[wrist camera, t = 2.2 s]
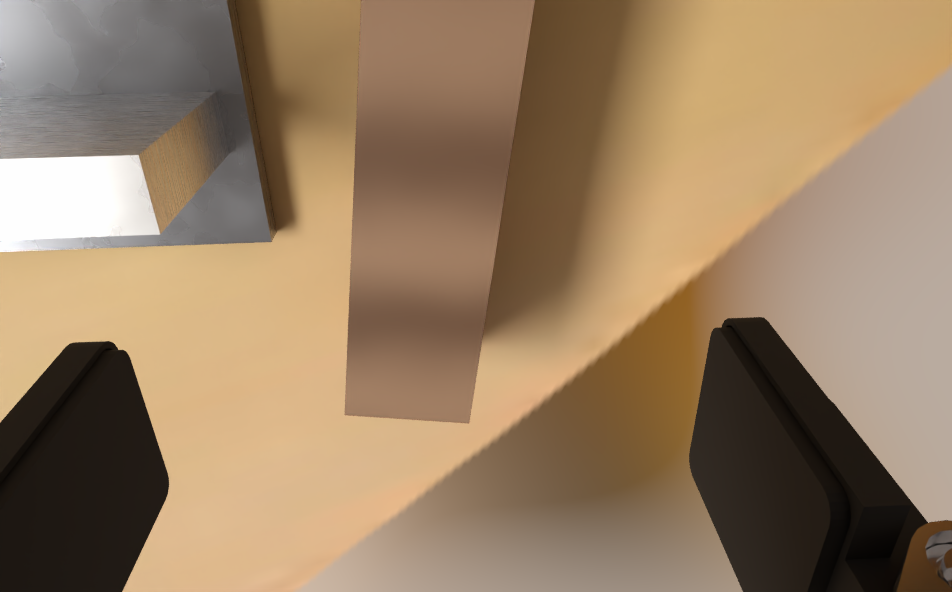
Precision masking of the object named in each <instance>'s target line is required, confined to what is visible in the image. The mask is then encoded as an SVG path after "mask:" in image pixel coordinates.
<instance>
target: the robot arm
mask: <svg viewBox="0 0 952 592" xmlns="http://www.w3.org/2000/svg"><path fill="white" fill-rule="evenodd" d="M689 462H690V469H691V473H692V476H693V478H694V481H695V483H696V485H697V487H698V490H699V492H700V494H701V497H702V499H703V501H704V503H705V506H706V508H707V510H708V513H709V515H710V517H711V519H712V522H713V524H714V526H715V528H716V531H717V533H718V535H719V537H720V540H721V542H722V544H723V547H724V549H725V551H726V554H727V556H728V558H729V561H730V563H731V565H732V567H733V570H734V572H735V574H736V577H737V578H738V581H739V583H740V586H741V588H742V590H743V592H952V521H948V520H944V521H937V522H929V523H928V522H927V521H926V520H925V518H924V517H923V516H922V514H921V513H920V512H919V511H918V509H917V508H916V507H915V506H914V504H913V503H912V502H911V501H910V499H909V498H908V497H907V496H906V494H905V493H904V492H903V490H902V489H901V488H900V487H899V485H898V484H897V483H896V482H895V480H894V479H893V478H892V476H891V475H890V474H889V473H888V472H887V470H886V469H885V468H884V467H883V465H882V464H881V463H880V461H879V460H878V459H877V458H876V456H875V455H874V454H873V452H872V451H871V450H870V449H869V447H868V446H867V445H866V443H865V442H864V441H863V440H862V438H861V437H860V436H859V435H858V434H857V432H856V431H855V430H854V429H853V427H852V426H851V424H850V423H849V422H848V421H847V419H846V418H845V417H844V416H843V414H842V413H841V412H840V411H839V409H838V408H837V407H836V406H835V404H834V403H833V402H831V400H830V399H828V397H827V396H826V395H825V394H824V392H823V391H822V390H821V389H820V387H819V386H818V385H817V383H816V382H815V381H814V379H813V378H812V377H811V376H810V374H809V373H808V372H807V371H806V369H805V368H804V367H803V365H802V364H801V363H800V362H799V360H798V359H797V358H796V357H795V355H794V354H793V353H792V351H791V350H790V349H789V348H788V347H787V345H786V344H785V343H784V341H783V340H782V339H781V338H780V336H779V335H778V334H777V333H776V331H775V330H774V329H773V327H772V326H771V325H770V323H769V322H768V321H767V320H766V319H765V318H762V317H756V318H755V317H754V318H728V319H726V320H725V321H724V323H723V325H722V328H715V329H713V331H712V333H711V337H710V343H709V348H708V353H707V359H706V364H705V370H704V376H703V381H702V386H701V392H700V398H699V404H698V409H697V414H696V420H695V425H694V431H693V436H692V442H691V447H690V454H689ZM168 489H169V478H168V473H167V470H166V467H165V464H164V461H163V458H162V455H161V452H160V449H159V446H158V442H157V439H156V436H155V433H154V430H153V427H152V424H151V421H150V418H149V415H148V412H147V409H146V406H145V403H144V400H143V396H142V393H141V390H140V387H139V384H138V381H137V378H136V375H135V372H134V369H133V366H132V363H131V360H130V357H129V355H128V353H127V352H126V351H124V350H118V348H117V347H116V345H115V344H114V343H112V342H110V341H105V342H78V343H71V344H69V345H68V346H67V347H65V349H64V350H63V351H62V352H61V353H60V354H59V356H58V357H57V358H56V359H55V360H54V361H53V362H52V364H51V365H50V366H49V367H48V368H47V369H46V371H45V372H44V373H43V374H42V375H41V376H40V377H39V379H38V380H37V381H36V382H35V383H34V384H33V386H32V387H31V388H30V389H29V390H28V391H27V392H26V394H25V395H24V396H23V397H22V398H21V399H20V401H19V402H18V403H17V404H16V405H15V406H14V408H13V409H12V410H11V411H10V412H9V413H8V414H7V416H6V417H5V418H4V419H3V420H2V421H1V423H0V592H122V591H123V589H124V587H125V584H126V582H127V580H128V578H129V576H130V574H131V572H132V570H133V567H134V565H135V563H136V561H137V559H138V557H139V555H140V553H141V551H142V548H143V546H144V544H145V542H146V540H147V538H148V536H149V534H150V532H151V529H152V527H153V525H154V523H155V521H156V519H157V517H158V515H159V512H160V510H161V508H162V506H163V504H164V502H165V500H166V497H167V494H168Z"/></svg>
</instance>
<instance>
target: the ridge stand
mask: <svg viewBox="0 0 952 592" xmlns="http://www.w3.org/2000/svg"><path fill="white" fill-rule="evenodd" d="M275 234H276V227H275V221H274V216H273V210H272V204H271V199H270V193H269V188H268V182H267V177H266V171H265V166H264V160H263V154H262V149H261V143H260V138H259V132H258V127H257V121H256V116H255V110H254V104H253V99H252V93H251V88H250V82H249V77H248V71H247V66H246V60H245V54H244V49H243V43H242V38H241V32H240V27H239V21H238V16H237V10H236V4H235V0H0V252H11V251H38V250H65V249H92V248H119V247H146V246H174V245H201V244H228V243H255V242H272V240H273V238H274V236H275Z"/></svg>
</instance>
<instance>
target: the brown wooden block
mask: <svg viewBox="0 0 952 592" xmlns="http://www.w3.org/2000/svg"><path fill="white" fill-rule="evenodd" d="M534 3H535V0H361V19H360V44H359V69H358V94H357V119H356V144H355V169H354V195H353V220H352V245H351V270H350V295H349V320H348V345H347V370H346V395H345V415H350V416H365V417H380V418H395V419H410V420H425V421H440V422H455V423H469V421H470V415H471V408H472V402H473V395H474V389H475V382H476V376H477V370H478V363H479V357H480V350H481V344H482V337H483V331H484V325H485V318H486V312H487V305H488V299H489V292H490V286H491V280H492V273H493V267H494V260H495V254H496V247H497V241H498V235H499V228H500V222H501V215H502V209H503V202H504V196H505V190H506V183H507V177H508V170H509V164H510V157H511V151H512V145H513V138H514V132H515V125H516V119H517V112H518V106H519V100H520V93H521V87H522V80H523V74H524V67H525V61H526V55H527V48H528V42H529V35H530V29H531V22H532V16H533V9H534Z"/></svg>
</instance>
